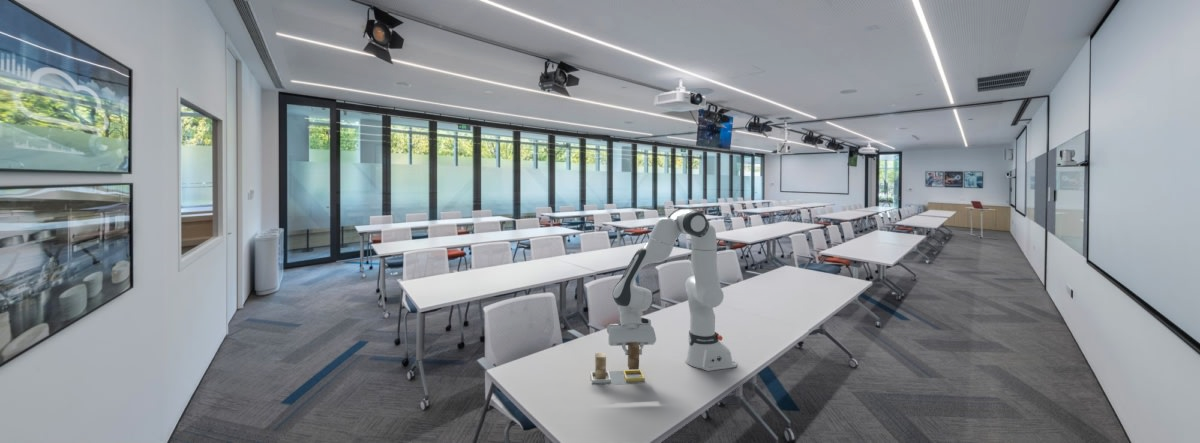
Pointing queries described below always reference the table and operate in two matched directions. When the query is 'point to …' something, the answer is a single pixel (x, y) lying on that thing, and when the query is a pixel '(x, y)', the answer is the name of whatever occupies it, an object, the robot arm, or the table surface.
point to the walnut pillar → (633, 356)
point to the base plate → (619, 378)
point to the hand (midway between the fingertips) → (633, 354)
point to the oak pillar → (600, 365)
